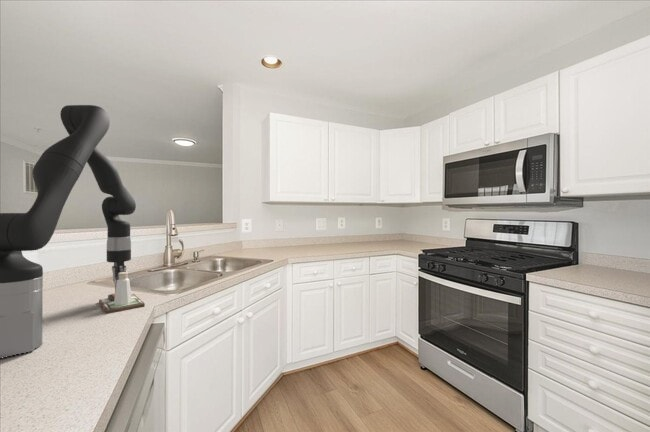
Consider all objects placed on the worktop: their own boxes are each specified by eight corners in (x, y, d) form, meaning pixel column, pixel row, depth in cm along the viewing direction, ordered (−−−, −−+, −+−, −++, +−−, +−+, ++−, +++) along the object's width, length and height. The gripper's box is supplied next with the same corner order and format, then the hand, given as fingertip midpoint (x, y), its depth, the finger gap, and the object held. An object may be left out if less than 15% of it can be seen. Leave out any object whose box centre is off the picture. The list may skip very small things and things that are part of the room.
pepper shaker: (110, 304, 99) (110, 273, 99) (125, 300, 104) (126, 270, 104) (119, 306, 97) (120, 274, 97) (135, 301, 102) (135, 271, 102)
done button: (126, 298, 106) (126, 294, 106) (113, 300, 103) (113, 296, 103) (124, 296, 109) (124, 291, 109) (111, 298, 106) (111, 293, 106)
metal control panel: (144, 306, 101) (144, 299, 101) (106, 313, 93) (106, 306, 93) (133, 296, 112) (133, 290, 112) (99, 302, 105) (99, 295, 105)
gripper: (134, 249, 104) (134, 295, 104) (127, 246, 113) (127, 288, 114) (109, 251, 99) (109, 299, 99) (103, 248, 108) (103, 292, 108)
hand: (118, 293), depth 106 cm, fingers closed
